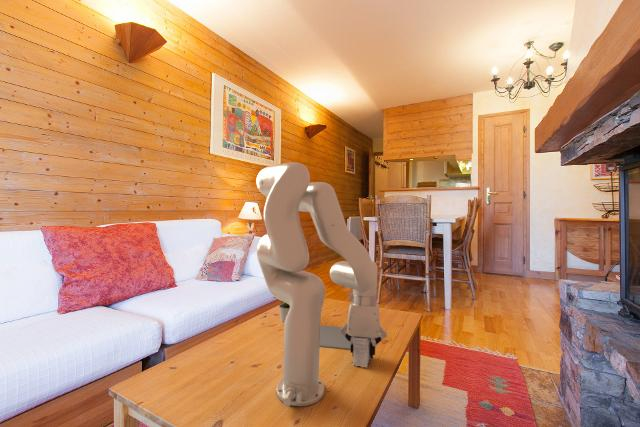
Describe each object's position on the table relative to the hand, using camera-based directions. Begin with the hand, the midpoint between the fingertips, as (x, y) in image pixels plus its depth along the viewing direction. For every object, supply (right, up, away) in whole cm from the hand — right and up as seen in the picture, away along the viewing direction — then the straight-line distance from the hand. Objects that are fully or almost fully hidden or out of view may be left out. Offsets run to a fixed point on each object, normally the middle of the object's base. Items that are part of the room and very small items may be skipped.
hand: (362, 355), depth 94 cm
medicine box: (0, -2, 0) cm, 2 cm away
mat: (-9, -1, +18) cm, 20 cm away
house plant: (-28, -1, +32) cm, 42 cm away
